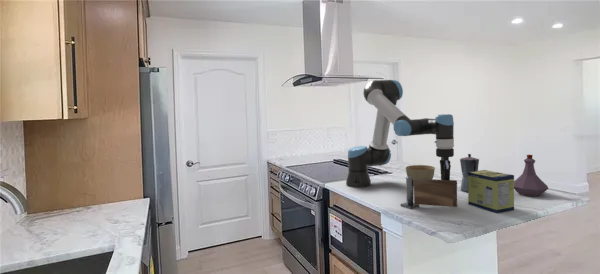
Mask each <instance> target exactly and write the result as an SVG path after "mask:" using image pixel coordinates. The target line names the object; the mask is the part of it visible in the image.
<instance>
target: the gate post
mask: <svg viewBox="0 0 600 274" xmlns="http://www.w3.org/2000/svg"><path fill="white" fill-rule="evenodd" d="M405 182H406V184H405V186H406V188H405V190H406V202H403V203H400V207H403V208H405V207H406V209H409V210H413V209H417V208H420V205H419V204H414V186H413V177H411V176H408V177H407V176H406V177H405ZM416 207H417V208H416ZM412 208H413V209H412Z"/></svg>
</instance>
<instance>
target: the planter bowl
mask: <svg viewBox="0 0 600 274" xmlns="http://www.w3.org/2000/svg"><path fill="white" fill-rule="evenodd" d="M435 170H436V167H435V166H432V165H424V164H415V165H414V164H413V165H408V166H405V173H406V177H408V176H411V177H413V187H414V179H434V177H435Z"/></svg>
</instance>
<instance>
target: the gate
mask: <svg viewBox="0 0 600 274" xmlns="http://www.w3.org/2000/svg"><path fill="white" fill-rule="evenodd" d="M413 203H414V204H419V205H421V206H435V207H449V208H458V180H456V179H454V180H453V179H450V180H441V179H434V178H433V179H414V186H413Z"/></svg>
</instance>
